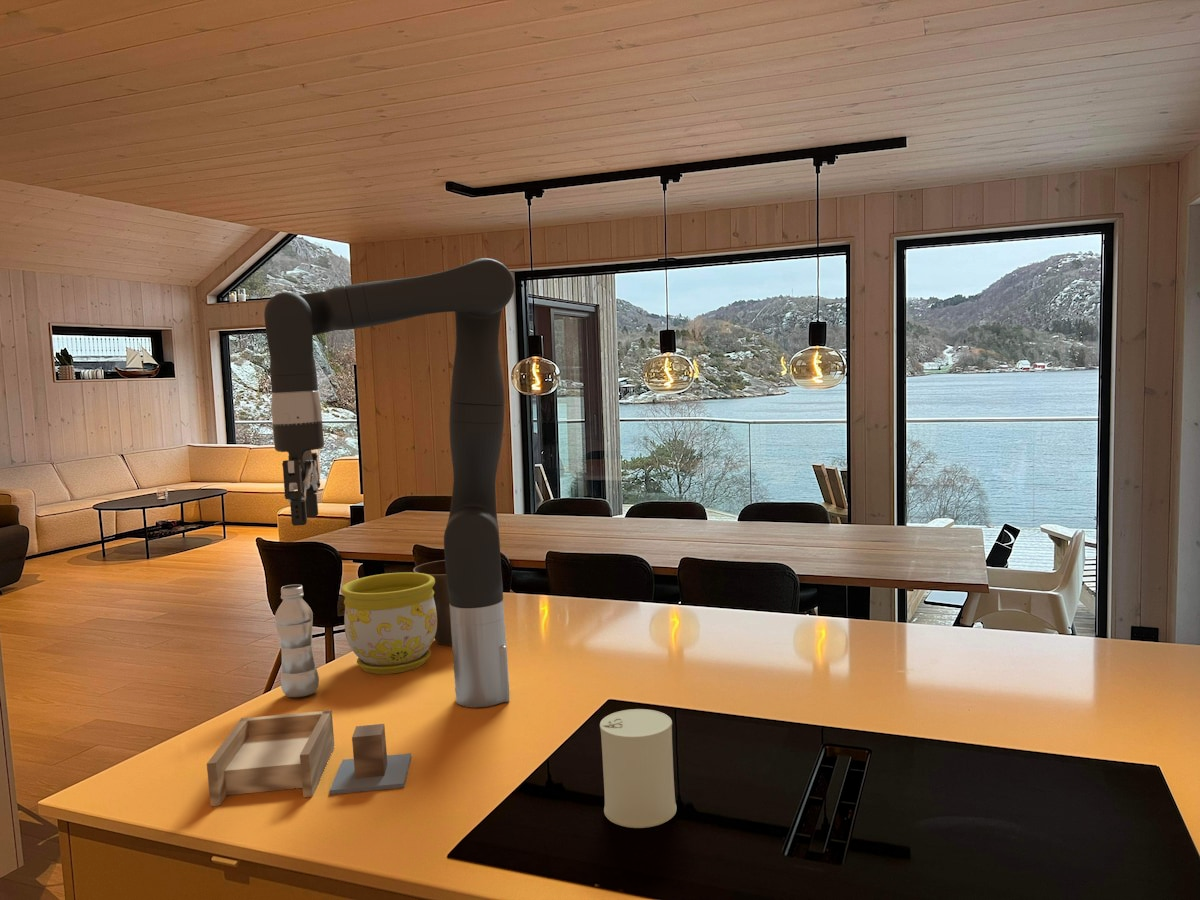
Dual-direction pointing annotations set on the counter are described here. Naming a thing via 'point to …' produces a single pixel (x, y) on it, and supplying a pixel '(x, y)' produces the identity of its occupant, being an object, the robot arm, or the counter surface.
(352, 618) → the flowerpot
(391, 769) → the mat
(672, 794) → the can
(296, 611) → the plastic bottle
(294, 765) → the crate
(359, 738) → the block
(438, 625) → the plant pot
